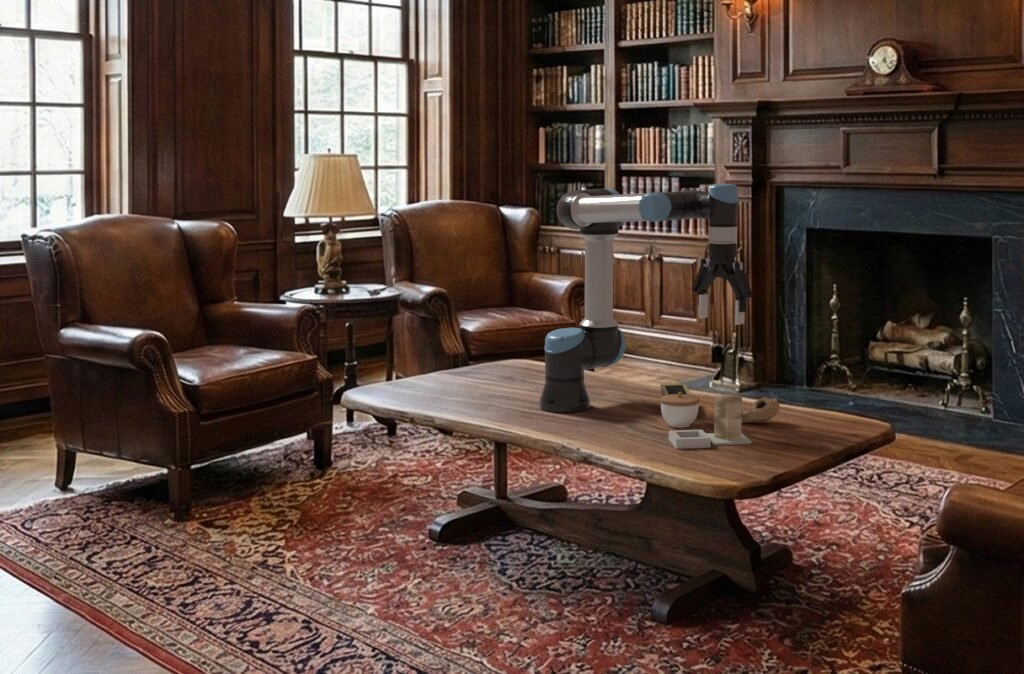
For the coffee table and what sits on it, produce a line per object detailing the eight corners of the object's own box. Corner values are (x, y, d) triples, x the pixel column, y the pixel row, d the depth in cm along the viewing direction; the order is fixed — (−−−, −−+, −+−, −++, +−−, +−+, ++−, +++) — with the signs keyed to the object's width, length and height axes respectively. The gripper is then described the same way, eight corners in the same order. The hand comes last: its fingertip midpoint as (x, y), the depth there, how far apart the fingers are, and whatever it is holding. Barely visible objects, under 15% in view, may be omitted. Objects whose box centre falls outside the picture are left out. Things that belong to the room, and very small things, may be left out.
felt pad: (714, 445, 295) (714, 443, 295) (704, 435, 305) (704, 433, 305) (751, 443, 296) (751, 441, 296) (740, 434, 306) (740, 432, 306)
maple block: (714, 437, 301) (714, 396, 299) (727, 434, 304) (728, 394, 302) (727, 440, 297) (728, 400, 295) (741, 437, 300) (742, 397, 298)
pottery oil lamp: (734, 418, 323) (735, 394, 322) (777, 419, 322) (778, 395, 320) (736, 426, 315) (736, 401, 314) (780, 427, 313) (781, 402, 312)
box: (684, 397, 344) (685, 382, 343) (702, 427, 323) (703, 411, 321) (657, 399, 344) (658, 384, 342) (674, 429, 323) (674, 413, 321)
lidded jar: (656, 428, 314) (656, 395, 312) (665, 419, 324) (665, 387, 322) (694, 431, 310) (694, 397, 309) (702, 422, 320) (702, 389, 318)
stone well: (676, 448, 292) (676, 439, 292) (668, 439, 301) (668, 430, 301) (710, 447, 293) (710, 438, 293) (701, 438, 302) (702, 429, 302)
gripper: (767, 244, 293) (765, 325, 297) (699, 238, 313) (698, 314, 317) (747, 246, 289) (745, 328, 293) (679, 240, 309) (678, 316, 313)
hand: (721, 321), depth 305 cm, fingers open, 13 cm apart
